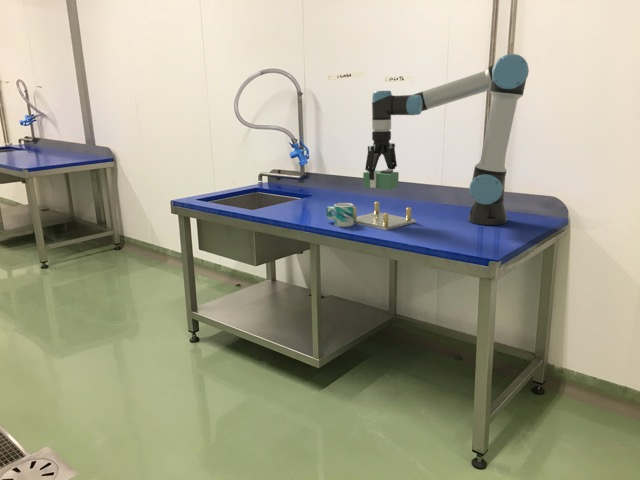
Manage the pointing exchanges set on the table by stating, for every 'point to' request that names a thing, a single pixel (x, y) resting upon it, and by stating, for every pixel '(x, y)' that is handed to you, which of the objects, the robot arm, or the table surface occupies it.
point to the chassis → (382, 219)
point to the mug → (341, 214)
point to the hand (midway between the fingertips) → (381, 186)
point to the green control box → (382, 179)
